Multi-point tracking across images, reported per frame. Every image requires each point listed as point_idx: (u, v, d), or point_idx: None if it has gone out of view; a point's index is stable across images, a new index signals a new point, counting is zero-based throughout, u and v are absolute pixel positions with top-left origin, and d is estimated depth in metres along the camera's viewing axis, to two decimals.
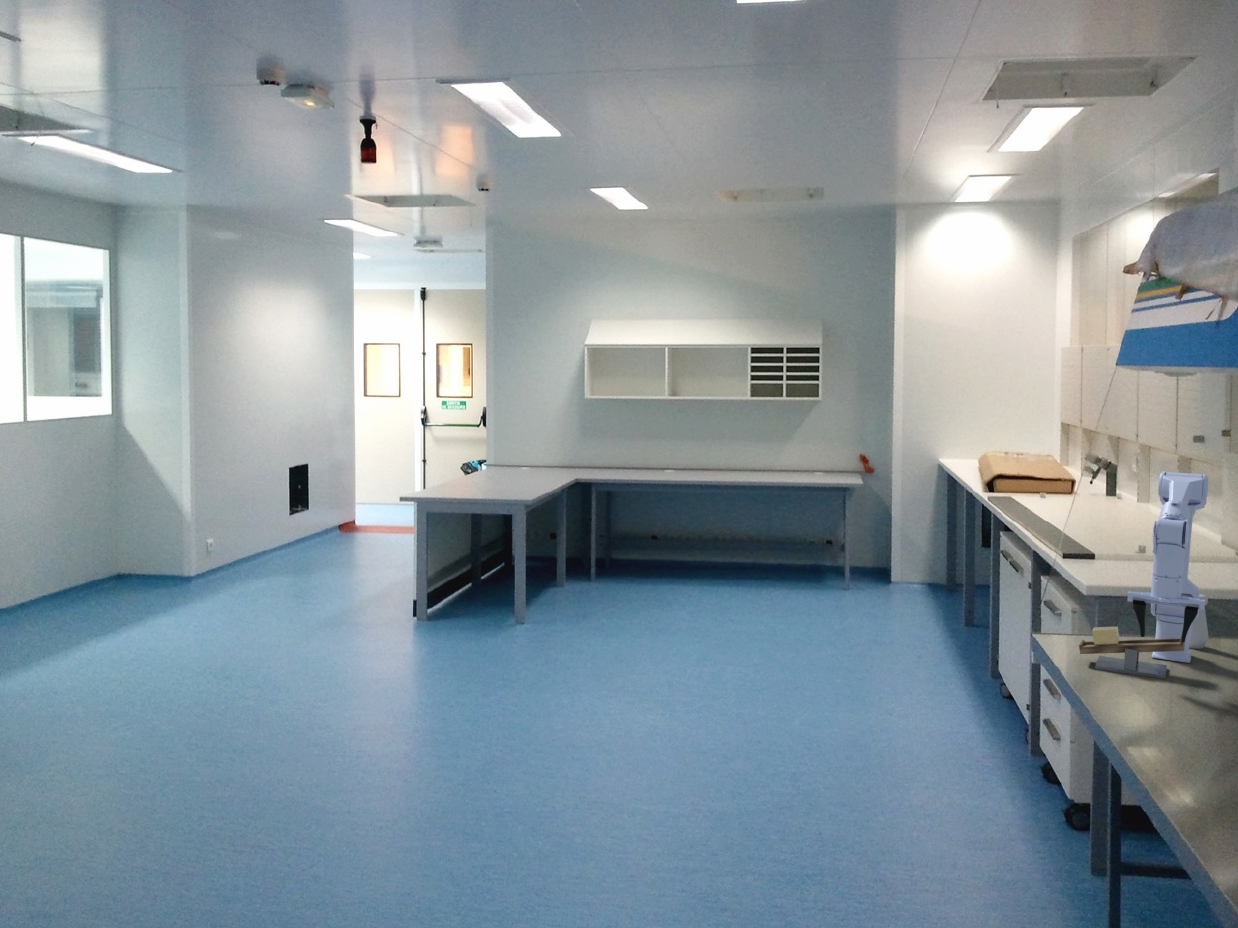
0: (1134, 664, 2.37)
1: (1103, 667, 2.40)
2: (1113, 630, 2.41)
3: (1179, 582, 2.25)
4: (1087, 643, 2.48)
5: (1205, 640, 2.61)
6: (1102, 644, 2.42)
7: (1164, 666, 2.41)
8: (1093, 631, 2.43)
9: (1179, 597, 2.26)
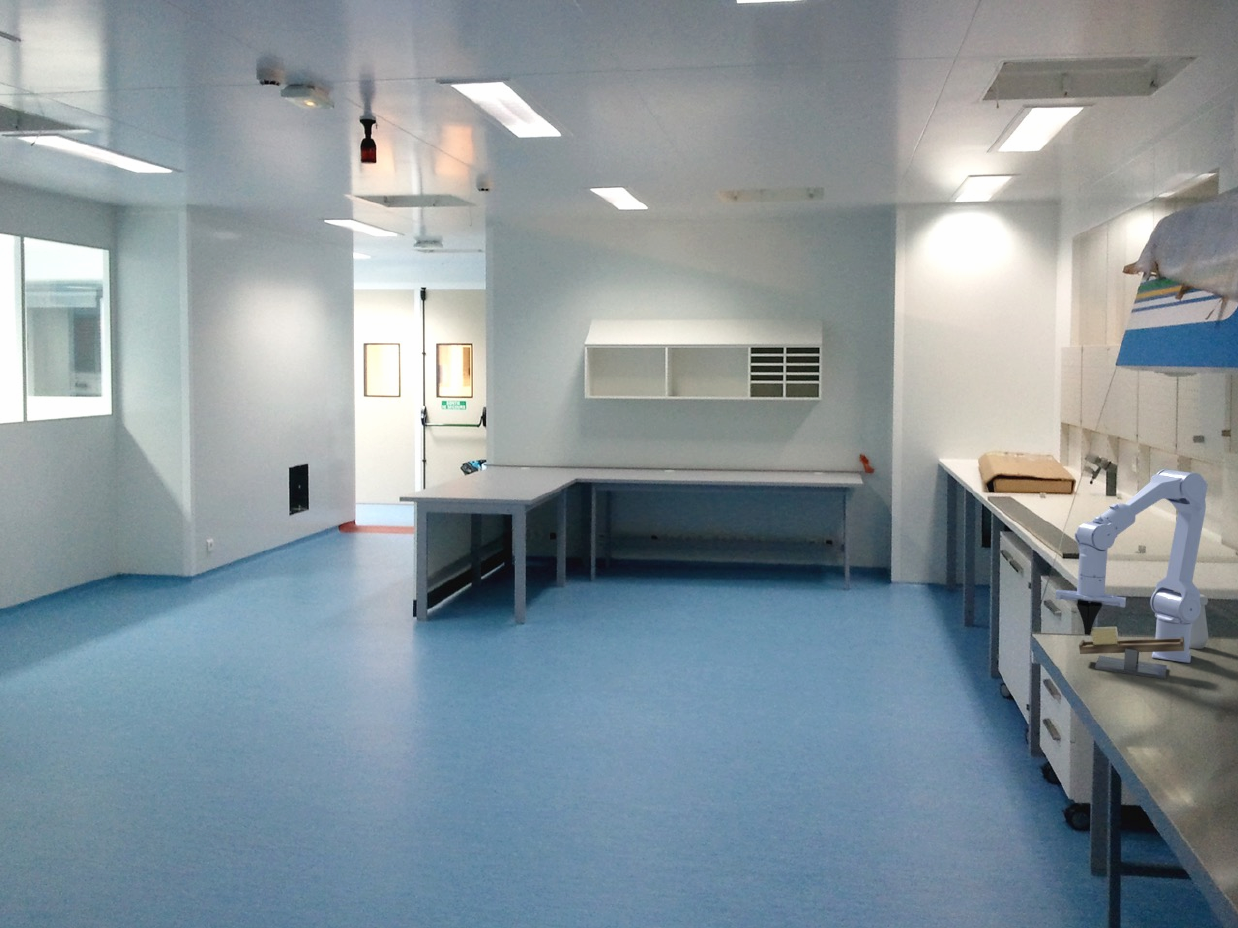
0: (1134, 664, 2.37)
1: (1103, 667, 2.40)
2: (1112, 630, 2.41)
3: (1102, 581, 2.42)
4: (1087, 643, 2.48)
5: (1205, 640, 2.61)
6: (1101, 644, 2.42)
7: (1164, 666, 2.41)
8: (1092, 631, 2.43)
9: (1102, 595, 2.42)
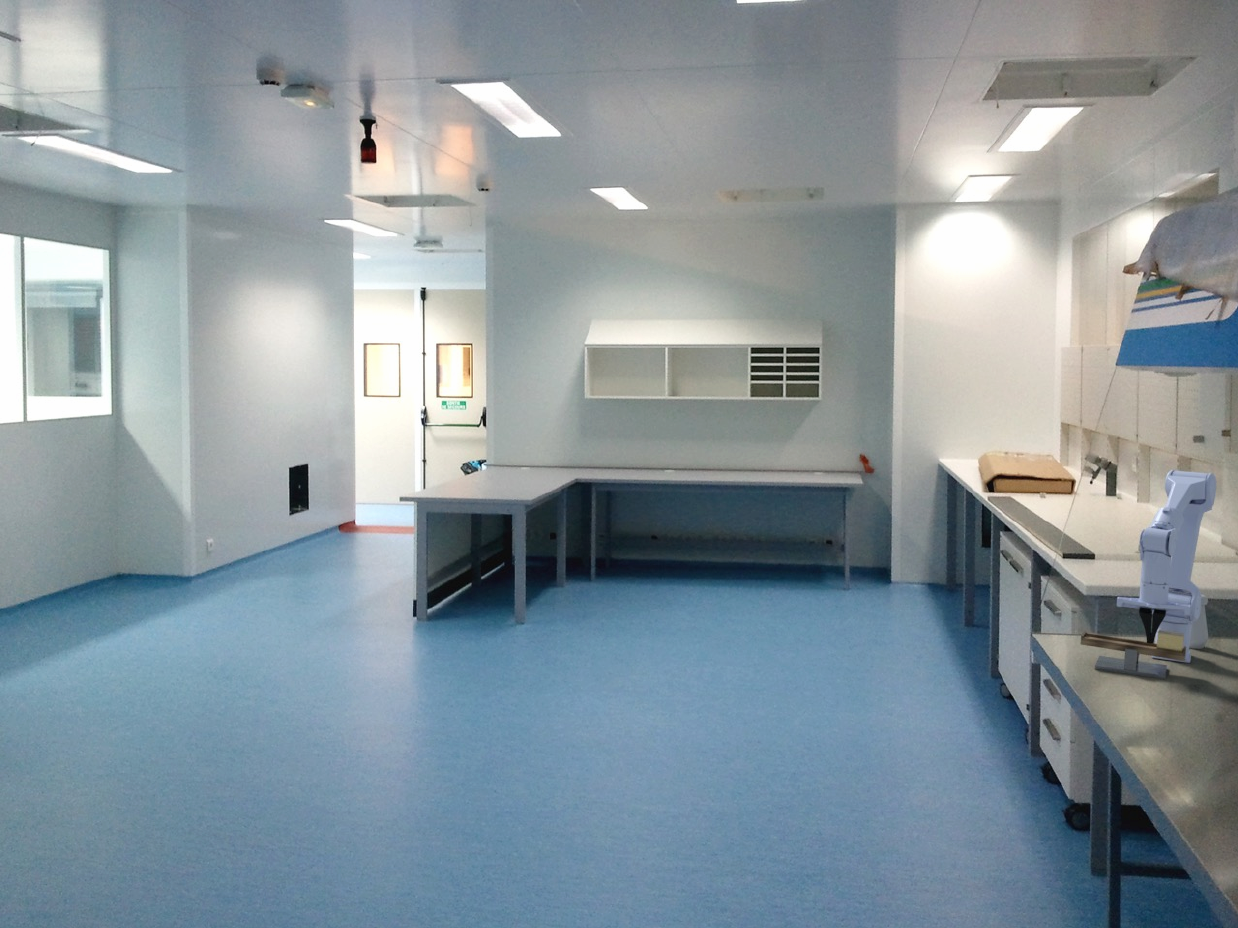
0: (1134, 664, 2.37)
1: (1103, 667, 2.40)
2: (1180, 637, 2.35)
3: (1166, 588, 2.35)
4: (1088, 635, 2.47)
5: (1205, 640, 2.61)
6: (1165, 648, 2.36)
7: (1164, 666, 2.41)
8: (1159, 634, 2.37)
9: (1166, 603, 2.36)
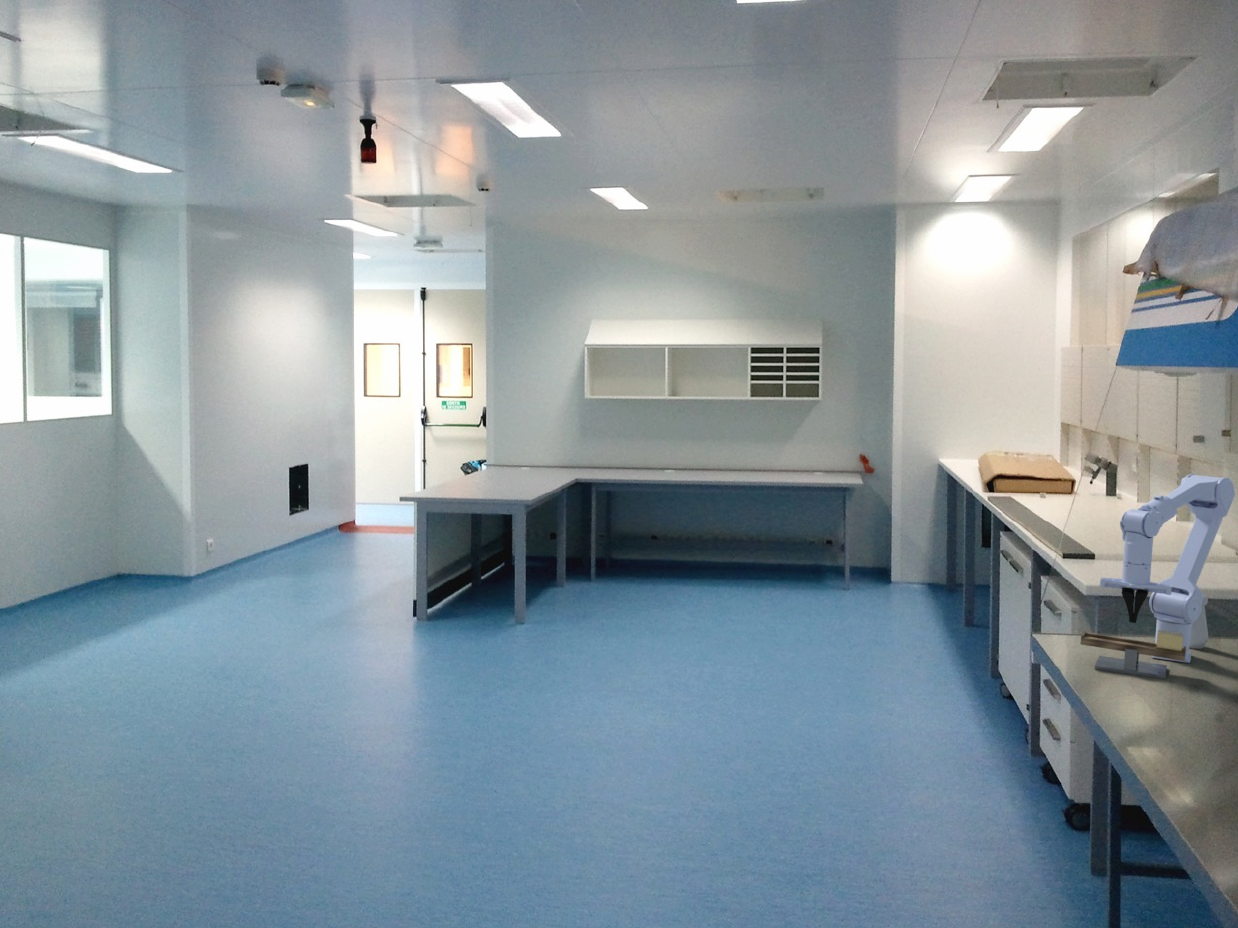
0: (1134, 664, 2.37)
1: (1103, 667, 2.40)
2: (1180, 637, 2.35)
3: (1148, 569, 2.41)
4: (1088, 635, 2.47)
5: (1205, 640, 2.61)
6: (1165, 648, 2.36)
7: (1164, 666, 2.41)
8: (1158, 634, 2.37)
9: (1148, 583, 2.41)
